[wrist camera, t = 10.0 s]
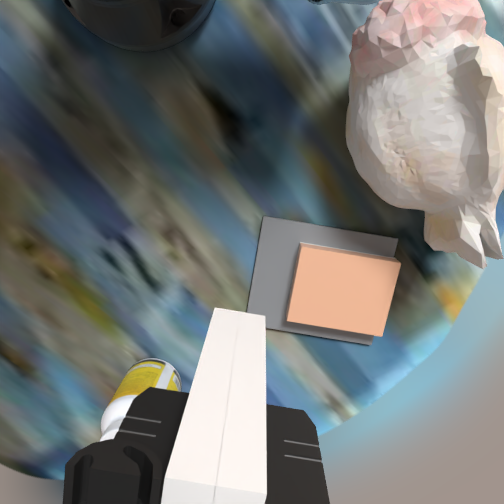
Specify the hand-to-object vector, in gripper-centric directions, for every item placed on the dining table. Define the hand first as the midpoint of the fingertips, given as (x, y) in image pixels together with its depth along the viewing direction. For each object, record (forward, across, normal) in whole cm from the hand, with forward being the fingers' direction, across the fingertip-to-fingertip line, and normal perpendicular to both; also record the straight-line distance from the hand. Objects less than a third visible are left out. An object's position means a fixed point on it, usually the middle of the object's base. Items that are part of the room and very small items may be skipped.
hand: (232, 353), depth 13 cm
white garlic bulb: (+32, +13, +9) cm, 36 cm away
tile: (+31, +5, -7) cm, 32 cm away
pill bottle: (+32, -8, -22) cm, 40 cm away
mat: (+32, +8, -7) cm, 34 cm away
